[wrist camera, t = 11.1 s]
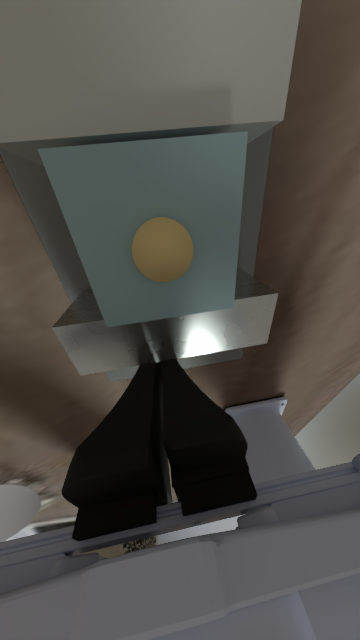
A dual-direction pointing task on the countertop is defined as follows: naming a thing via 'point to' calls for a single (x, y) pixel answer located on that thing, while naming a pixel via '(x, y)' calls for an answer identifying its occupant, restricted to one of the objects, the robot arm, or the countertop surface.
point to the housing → (154, 221)
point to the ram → (165, 331)
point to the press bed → (140, 97)
